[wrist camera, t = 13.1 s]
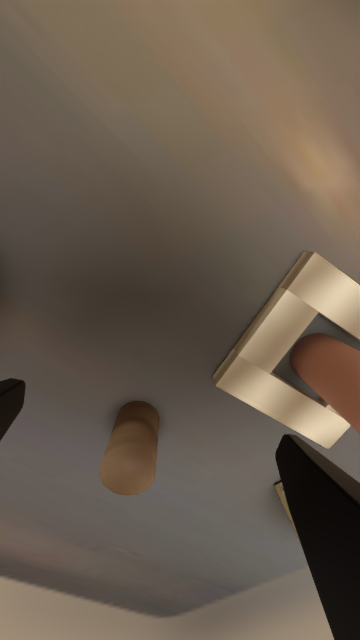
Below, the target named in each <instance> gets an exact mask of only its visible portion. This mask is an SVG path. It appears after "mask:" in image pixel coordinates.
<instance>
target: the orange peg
mask: <svg viewBox="0 0 360 640" xmlns="http://www.w3.org/2000/svg"><path fill="white" fill-rule="evenodd" d="M290 364H291V367H292V369H293V371H294V372H295V373H296V374H297V375H298V376H299V377H300V378H301V379H303V380H304V381H305V382H306V383H307V384H308V385H309V386H310V387H311V388H312V389H313V390H314V391H315V392H316V393H317V394H318V395H319V396H320V397H321V398H323V399H324V400H325V401H326V402H327V403H328V404H329V405H330V406H331V407H332V408H333V409H334V410H335V411H336V412H337V413H338V414H339V415H340V416H341V417H343V418H344V419H345V420H346V421H347V422H348V423H349V424H350V425H351V426H352V427H353V428H354V429H355V430H356V431H357V432H358V433H359V434H360V351H358V350H356V349H354V348H352V347H350V346H348V345H347V344H345V343H343V342H341V341H339V340H337V339H335V338H333V337H331V336H329V335H327V334H324V333H313V334H309V335H307V336H305V337H303V338H302V339H300V340H299V341H298V342H297V343H296V344H295V346H294V347H293V349H292V351H291V355H290Z"/></svg>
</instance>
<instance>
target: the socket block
mask: <svg viewBox="0 0 360 640" xmlns="http://www.w3.org/2000/svg"><path fill="white" fill-rule="evenodd" d="M313 333H324V334H327V335H329V336H331V337H333V338H335V339H337V340H339V341H341V342H343V343H345V344H347V345H348V346H350V347H352V348H354V349H356V350H358V351H360V285H359V284H357V283H356V282H355V281H353V280H352V279H351V278H349V277H348V276H347V275H345V274H344V273H343V272H341V271H340V270H338V269H337V268H336V267H334V266H333V265H332V264H330V263H329V262H328V261H326V260H325V259H324V258H322V257H321V256H320V255H318V254H317V253H316V252H303V254H302V255H301V256H300V258H299V259H298V261H297V262H296V263H295V265H294V266H293V267H292V269H291V270H290V271H289V273H288V274H287V276H286V277H285V278H284V280H283V281H282V282H281V284H280V285H279V286H278V288H277V289H276V291H275V292H274V293H273V295H272V296H271V297H270V299H269V300H268V302H267V303H266V304H265V306H264V307H263V308H262V310H261V311H260V312H259V314H258V315H257V317H256V318H255V319H254V321H253V322H252V323H251V325H250V326H249V327H248V329H247V330H246V332H245V333H244V334H243V336H242V337H241V338H240V340H239V341H238V342H237V344H236V345H235V347H234V348H233V349H232V351H231V352H230V353H229V355H228V356H227V357H226V359H225V360H224V362H223V363H222V364H221V366H220V367H219V368H218V370H217V371H216V372H215V374H214V375H213V379H214V382H215V386H217V387H219V388H221V389H222V390H224V391H226V392H228V393H229V394H231V395H233V396H235V397H236V398H238V399H240V400H242V401H244V402H245V403H247V404H249V405H251V406H252V407H254V408H256V409H258V410H260V411H261V412H263V413H265V414H267V415H268V416H270V417H272V418H274V419H276V420H277V421H279V422H281V423H283V424H284V425H286V426H288V427H290V428H291V429H293V430H295V431H297V432H299V433H300V434H302V435H304V436H306V437H307V438H309V439H311V440H313V441H315V442H316V443H318V444H320V445H322V446H323V447H325V448H327V449H329V448H330V447H331V446H332V445H333V444H334V443H335V442H336V441H337V440H338V439H339V438H340V436H341V435H342V434H343V433H344V432H345V431H346V430H347V429H348V428H349V427H350V426H351V425H350V424H349V423H348V422H347V421H346V420H345V419H344V418H343V417H341V416H340V415H339V414H338V413H337V412H336V411H335V410H334V409H333V408H332V407H331V406H330V405H329V404H328V403H327V402H326V401H325V400H324V399H323V398H321V397H320V396H319V395H318V394H317V393H316V392H315V391H314V390H313V389H312V388H311V387H310V386H309V385H308V384H307V383H306V382H305V381H304V380H303V379H301V378H300V377H299V376H298V375H297V374H296V373H295V372H294V371H293V369H292V367H291V364H290V355H291V351H292V349H293V347H294V346H295V344H296V343H297V342H298V341H299V340H300V339H302V338H303V337H305V336H307V335H309V334H313Z"/></svg>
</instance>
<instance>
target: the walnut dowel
mask: <svg viewBox="0 0 360 640" xmlns="http://www.w3.org/2000/svg"><path fill="white" fill-rule="evenodd" d="M158 430H159V415H158V412H157V411H156V409H155V408H154V407H153V406H152V405H150V404H148V403H146V402H142V401H134V402H130V403H127V404H126V405H124V406H123V407H122V408H121V409H120V411H119V412H118V415H117V418H116V421H115V424H114V427H113V431H112V434H111V437H110V440H109V443H108V446H107V449H106V452H105V455H104V458H103V461H102V464H101V467H100V479H101V481H102V483H103V484H104V486H105V487H106V488H107V489H109V490H110V491H112V492H114V493H116V494H120V495H136V494H139V493H142V492H144V491H145V490H147V489H148V488H149V487H150V486H151V485H152V483H153V482H154V479H155V472H156V458H157V444H158Z"/></svg>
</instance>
